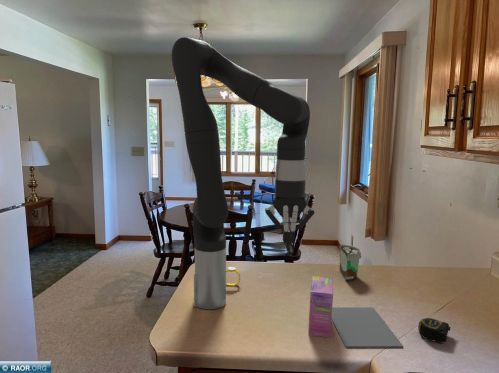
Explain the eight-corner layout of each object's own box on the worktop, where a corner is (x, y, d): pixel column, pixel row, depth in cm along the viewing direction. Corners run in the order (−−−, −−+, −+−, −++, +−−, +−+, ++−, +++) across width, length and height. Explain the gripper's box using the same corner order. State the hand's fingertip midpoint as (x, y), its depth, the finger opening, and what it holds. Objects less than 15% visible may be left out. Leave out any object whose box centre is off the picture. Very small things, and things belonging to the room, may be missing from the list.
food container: (364, 283, 128) (366, 255, 127) (346, 283, 129) (348, 254, 127) (354, 270, 141) (356, 244, 139) (338, 269, 141) (339, 244, 139)
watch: (221, 286, 124) (222, 269, 123) (222, 283, 127) (222, 266, 126) (240, 287, 124) (240, 269, 123) (240, 283, 127) (240, 266, 126)
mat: (345, 347, 90) (345, 346, 90) (325, 308, 109) (326, 307, 109) (403, 347, 90) (403, 345, 90) (373, 308, 110) (373, 307, 110)
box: (331, 338, 94) (333, 293, 92) (308, 335, 95) (309, 291, 93) (330, 318, 104) (332, 277, 102) (309, 316, 105) (311, 275, 103)
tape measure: (444, 348, 90) (446, 333, 90) (414, 338, 95) (416, 324, 94) (449, 336, 96) (451, 322, 95) (421, 327, 100) (422, 314, 99)
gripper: (265, 179, 89) (263, 249, 92) (319, 179, 90) (317, 249, 92) (262, 175, 97) (261, 240, 99) (313, 176, 97) (311, 240, 100)
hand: (288, 244), depth 96 cm, fingers closed
